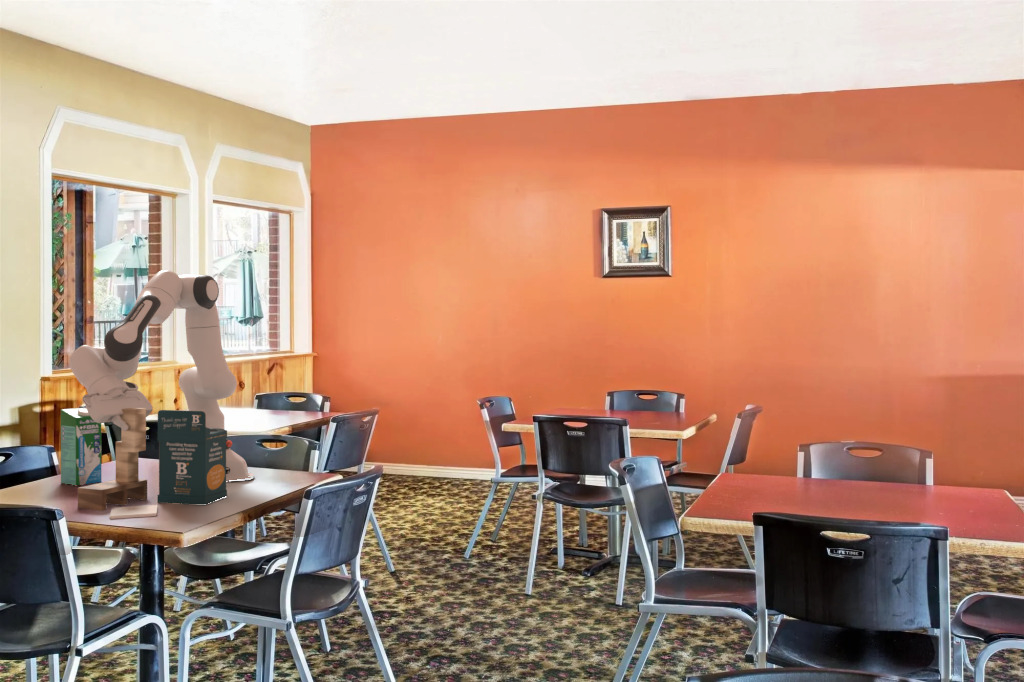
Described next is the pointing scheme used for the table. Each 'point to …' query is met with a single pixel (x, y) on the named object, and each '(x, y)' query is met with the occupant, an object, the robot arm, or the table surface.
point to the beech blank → (126, 465)
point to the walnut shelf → (110, 493)
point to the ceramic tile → (133, 511)
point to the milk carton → (80, 447)
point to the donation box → (190, 458)
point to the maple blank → (134, 430)
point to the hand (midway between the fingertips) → (135, 428)
